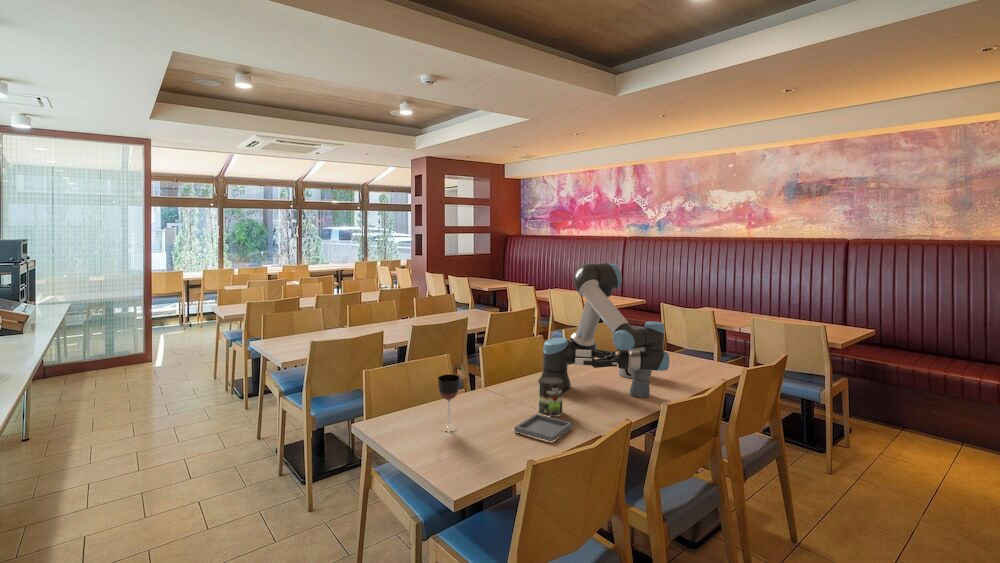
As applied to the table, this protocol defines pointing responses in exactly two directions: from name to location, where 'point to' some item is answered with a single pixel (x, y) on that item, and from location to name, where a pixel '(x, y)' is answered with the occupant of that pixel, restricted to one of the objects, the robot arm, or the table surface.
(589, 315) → the robot arm
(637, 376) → the moka pot
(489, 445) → the table surface
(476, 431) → the table surface
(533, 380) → the table surface
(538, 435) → the slate tray
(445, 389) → the wineglass
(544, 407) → the coffee can
